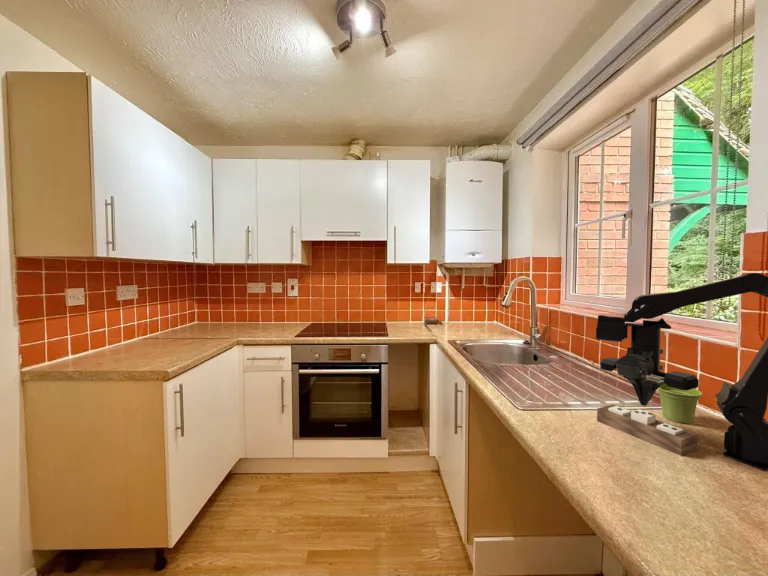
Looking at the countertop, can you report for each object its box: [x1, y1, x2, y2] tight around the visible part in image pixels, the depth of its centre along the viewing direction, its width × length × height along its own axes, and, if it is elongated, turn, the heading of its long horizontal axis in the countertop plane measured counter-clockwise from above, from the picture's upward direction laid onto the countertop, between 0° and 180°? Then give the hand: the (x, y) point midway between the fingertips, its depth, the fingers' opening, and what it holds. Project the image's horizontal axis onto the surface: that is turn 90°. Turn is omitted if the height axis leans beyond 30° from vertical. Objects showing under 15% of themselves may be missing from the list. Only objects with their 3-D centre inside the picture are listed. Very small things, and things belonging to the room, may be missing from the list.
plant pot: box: [657, 384, 703, 425], centre depth 87 cm, size 9×9×9 cm
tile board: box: [596, 404, 699, 457], centre depth 79 cm, size 18×7×4 cm, turn 23°
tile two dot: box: [656, 422, 684, 436], centre depth 74 cm, size 4×4×3 cm
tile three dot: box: [630, 408, 657, 425], centre depth 79 cm, size 4×4×3 cm
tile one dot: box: [608, 405, 632, 416], centre depth 84 cm, size 4×4×3 cm
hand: (643, 405), depth 79 cm, fingers closed
